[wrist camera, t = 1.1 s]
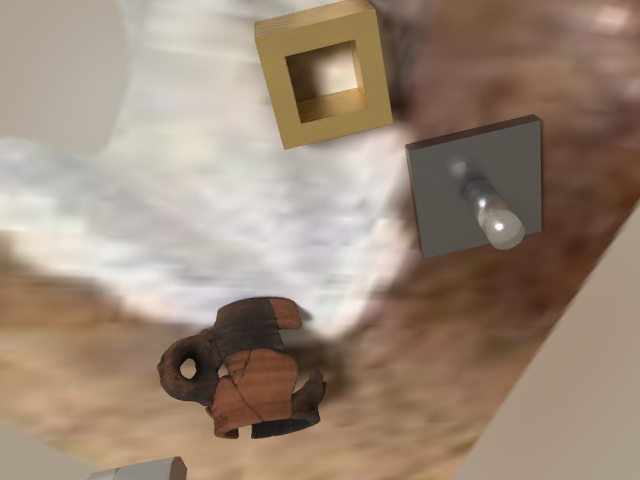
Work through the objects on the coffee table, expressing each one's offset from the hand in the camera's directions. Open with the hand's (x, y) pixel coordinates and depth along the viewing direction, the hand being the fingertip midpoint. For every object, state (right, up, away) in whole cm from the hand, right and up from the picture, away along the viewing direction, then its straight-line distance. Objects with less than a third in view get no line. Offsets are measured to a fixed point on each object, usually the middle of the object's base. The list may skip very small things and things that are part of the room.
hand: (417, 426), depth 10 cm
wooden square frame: (-2, +13, +23) cm, 26 cm away
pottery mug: (-7, -4, +33) cm, 34 cm away
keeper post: (+8, +7, +28) cm, 30 cm away
